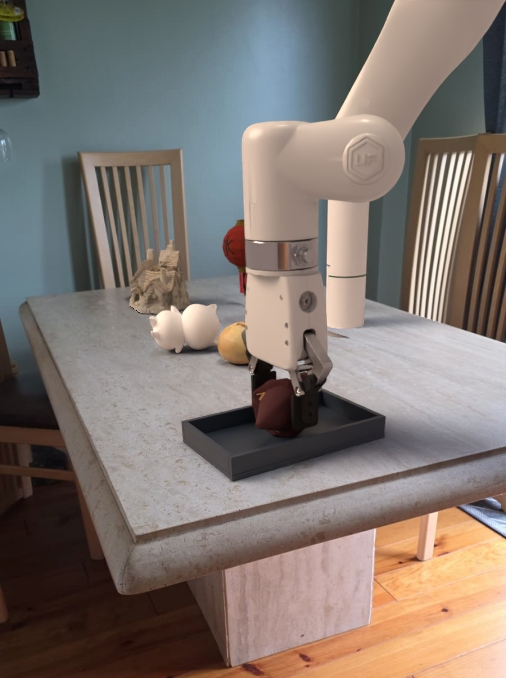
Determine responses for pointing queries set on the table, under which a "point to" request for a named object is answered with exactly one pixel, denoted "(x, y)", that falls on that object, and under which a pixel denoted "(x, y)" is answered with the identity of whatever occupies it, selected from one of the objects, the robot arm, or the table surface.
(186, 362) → the table surface
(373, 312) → the table surface
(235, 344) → the onion
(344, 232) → the cylindrical container
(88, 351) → the table surface
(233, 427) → the dish tray
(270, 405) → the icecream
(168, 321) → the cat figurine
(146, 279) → the ceramic cottage
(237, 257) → the lantern
